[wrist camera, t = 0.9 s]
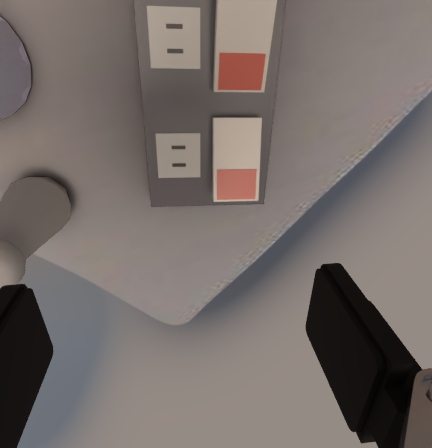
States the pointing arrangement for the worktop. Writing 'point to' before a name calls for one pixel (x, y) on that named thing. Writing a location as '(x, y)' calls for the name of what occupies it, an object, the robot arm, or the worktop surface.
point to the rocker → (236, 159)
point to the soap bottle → (12, 71)
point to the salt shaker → (29, 222)
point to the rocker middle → (242, 44)
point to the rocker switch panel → (192, 99)
